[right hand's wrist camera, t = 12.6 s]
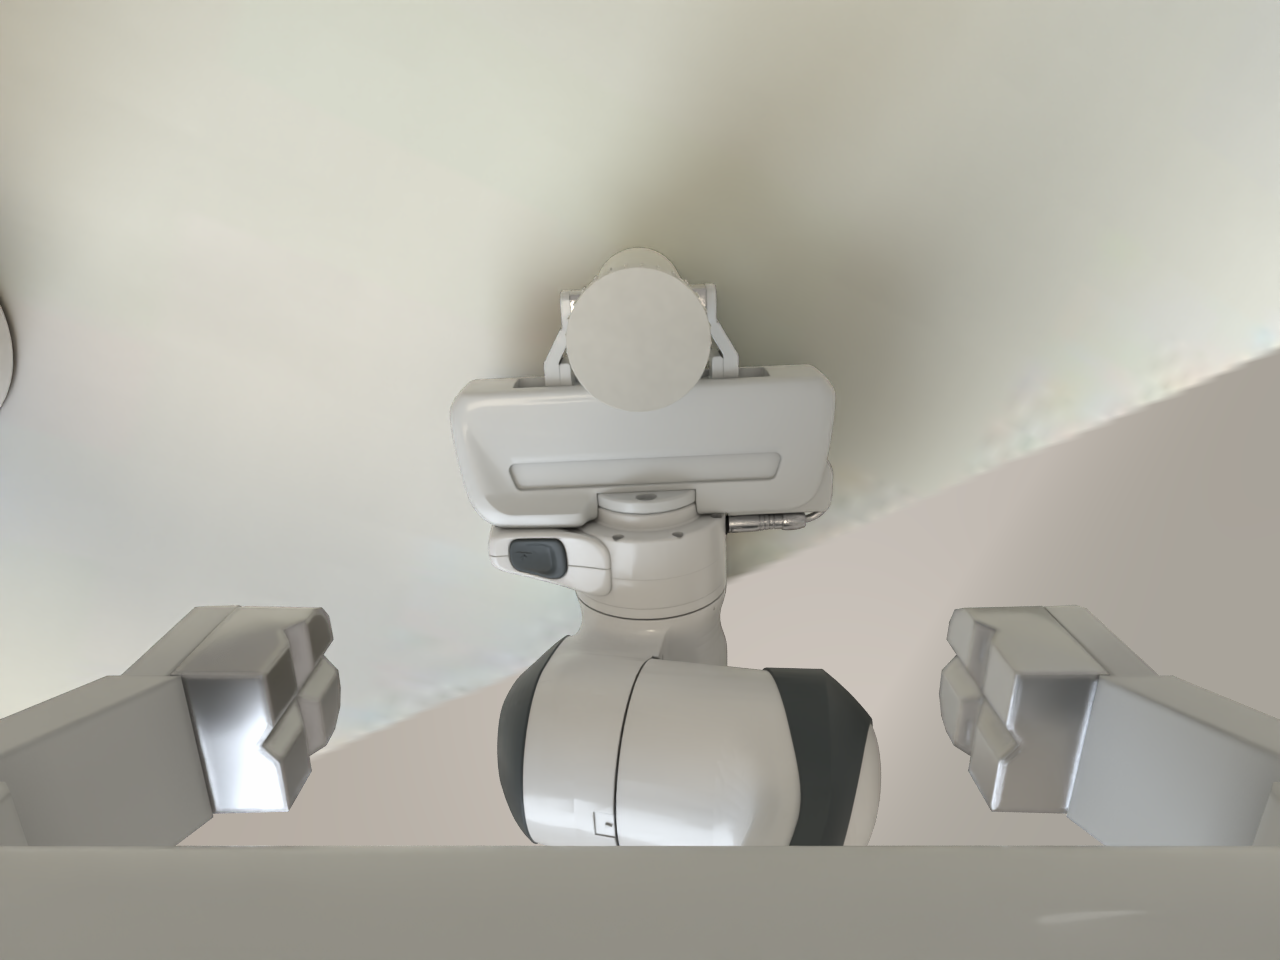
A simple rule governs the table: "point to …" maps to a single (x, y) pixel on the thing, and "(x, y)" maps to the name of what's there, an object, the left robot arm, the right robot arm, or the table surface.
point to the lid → (638, 337)
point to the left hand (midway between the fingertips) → (636, 287)
